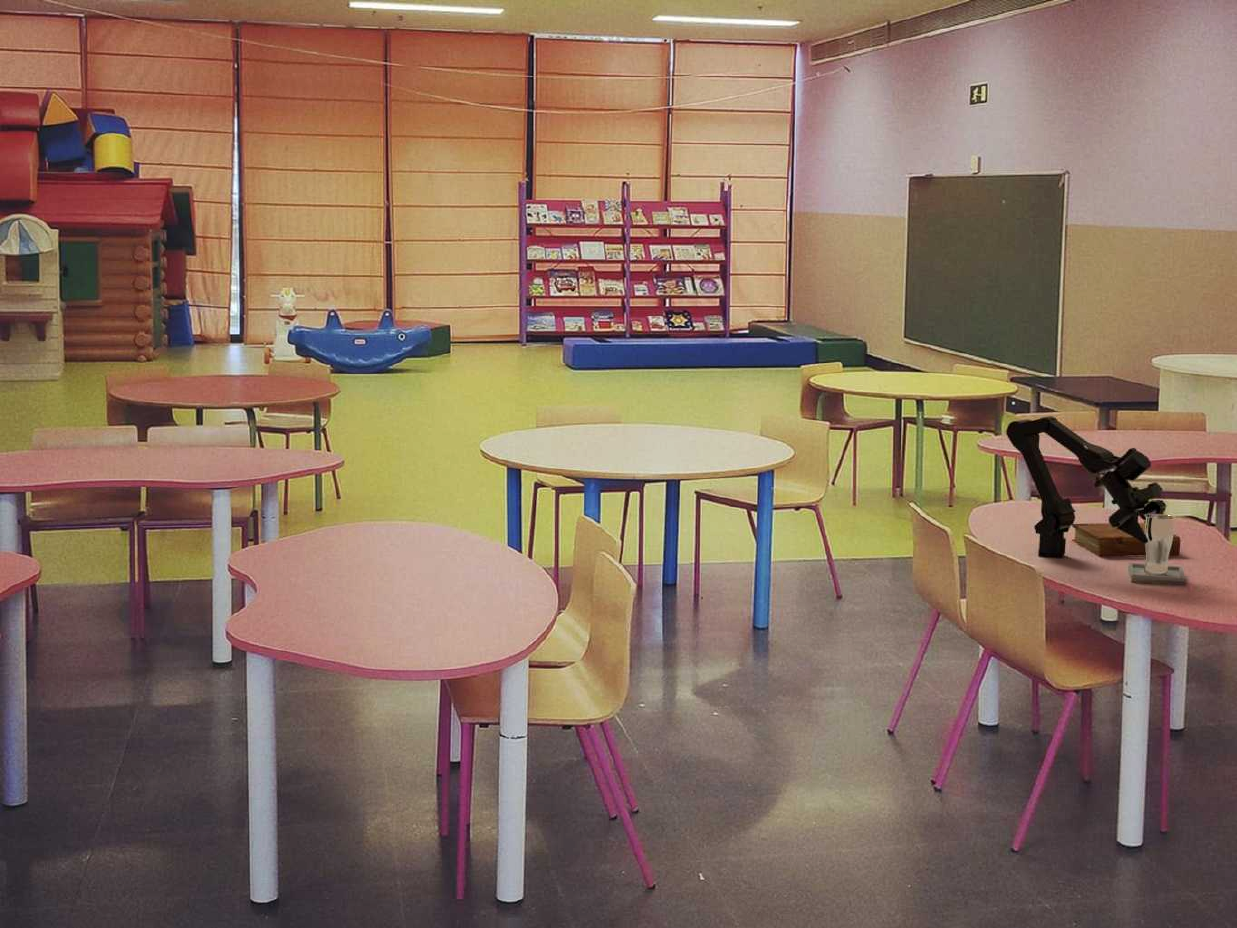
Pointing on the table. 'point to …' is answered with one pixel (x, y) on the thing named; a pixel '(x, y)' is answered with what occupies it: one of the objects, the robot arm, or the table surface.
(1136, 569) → the grey tray
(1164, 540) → the beer glass
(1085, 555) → the table surface
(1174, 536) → the diary
